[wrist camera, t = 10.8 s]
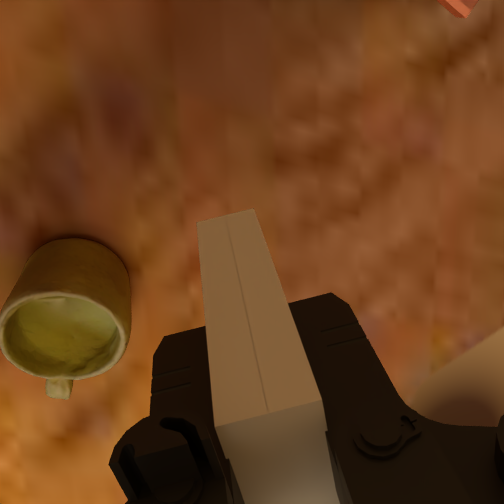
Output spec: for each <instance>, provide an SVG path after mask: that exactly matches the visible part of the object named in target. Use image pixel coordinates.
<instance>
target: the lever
mask: <svg viewBox="0 0 504 504" xmlns="http://www.w3.org/2000/svg"><path fill="white" fill-rule="evenodd" d="M437 1H438V2H439V3H440V4H441V5H443V6H444V7H445V8H446V9H447V10H448V11H449V12H451V13H452V14H453V15H454V16H455V17H460V18H466V17H467V16H468V14H469V13H470V12H471V10H472V9H473V8H474V6H475V5H476V3H477V2H478V1H479V0H437Z"/></svg>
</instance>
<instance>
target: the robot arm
mask: <svg viewBox="0 0 504 504" xmlns="http://www.w3.org/2000/svg"><path fill="white" fill-rule="evenodd" d="M196 224H197V235H198V246H199V257H200V268H201V280H202V291H203V302H204V313H205V325H206V326H203V327H199V328H195V329H191V330H187V331H183V332H179V333H175V334H171V335H167V336H164V338H163V339H162V341H161V343H160V345H159V346H158V348H157V350H156V352H155V353H154V355H153V368H152V377H153V379H152V384H151V394H152V396H151V401H150V416H148V417H146V418H143V419H142V420H140V421H139V422H138V423H136V424H135V425H134V426H132V427H131V428H130V429H128V430H127V431H126V432H125V434H124V435H123V436H122V438H121V439H120V440H119V441H118V443H117V444H116V445H115V447H114V450H113V453H112V455H111V458H110V461H109V466H110V468H111V470H112V472H113V473H114V475H115V477H116V479H117V481H118V482H119V484H120V486H121V488H122V490H123V491H124V493H125V495H126V497H127V499H128V501H127V502H126V503H125V504H504V415H503V416H502V417H501V418H500V421H499V424H498V427H482V426H457V425H448V424H442V423H439V422H436V421H433V420H429V419H427V418H425V417H423V416H421V415H420V414H418V413H417V412H416V411H415V410H413V409H411V408H410V407H409V406H407V405H406V404H405V403H404V401H403V400H402V399H401V397H400V396H399V395H398V393H397V391H396V389H395V388H394V386H393V384H392V382H391V380H390V378H389V377H388V375H387V373H386V371H385V369H384V367H383V366H382V364H381V362H380V360H379V358H378V357H377V355H376V353H375V351H374V349H373V347H372V346H371V344H370V342H369V340H368V339H367V338H366V335H365V333H364V331H363V329H362V327H361V326H360V325H359V323H358V320H357V318H356V316H355V315H354V313H353V311H352V309H351V307H350V306H349V304H348V303H346V302H345V301H343V300H342V299H340V298H339V297H337V296H336V295H334V294H333V293H327V294H323V295H319V296H315V297H311V298H307V299H303V300H299V301H295V302H292V303H287V300H286V297H285V294H284V292H283V289H282V286H281V283H280V280H279V278H278V275H277V272H276V269H275V266H274V264H273V261H272V258H271V255H270V252H269V249H268V247H267V244H266V241H265V238H264V235H263V233H262V230H261V227H260V224H259V221H258V219H257V216H256V213H255V210H254V208H252V209H248V210H244V211H240V212H236V213H232V214H228V215H224V216H220V217H216V218H212V219H208V220H204V221H200V222H196Z"/></svg>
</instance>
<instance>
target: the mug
mask: <svg viewBox="0 0 504 504" xmlns="http://www.w3.org/2000/svg"><path fill="white" fill-rule="evenodd" d="M130 333H131V296H130V280H129V276H128V273H127V271H126V268H125V266H124V264H123V263H122V261H121V260H120V259H119V258H118V257H117V256H116V255H115V254H114V253H113V252H112V251H111V250H109V249H108V248H106V247H105V246H104V245H102V244H100V243H98V242H95V241H92V240H86V239H82V238H69V239H59V240H54V241H51V242H49V243H47V244H45V245H43V246H41V247H40V248H39V249H37V250H36V251H35V252H34V253H33V254H32V255H31V257H30V258H29V259H28V261H27V262H26V264H25V266H24V268H23V271H22V274H21V276H20V278H19V280H18V282H17V283H16V285H15V287H14V288H13V290H12V292H11V293H10V295H9V297H8V299H7V300H6V302H5V304H4V306H3V308H2V310H1V313H0V347H1V350H2V352H3V354H4V355H5V357H6V358H7V359H8V360H9V361H10V362H11V363H12V364H13V365H15V366H16V367H17V368H19V369H20V370H22V371H24V372H26V373H28V374H31V375H33V376H37V377H42V378H46V379H47V380H46V387H45V388H46V394H47V395H48V396H49V397H51V398H60V399H69V397H70V394H71V391H72V386H73V380H81V379H85V378H89V377H94V376H97V375H99V374H102V373H104V372H106V371H107V370H109V369H110V368H112V367H113V366H114V365H115V364H116V363H117V362H118V361H119V360H120V358H121V357H122V356H123V354H124V352H125V350H126V348H127V345H128V342H129V338H130Z"/></svg>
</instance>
